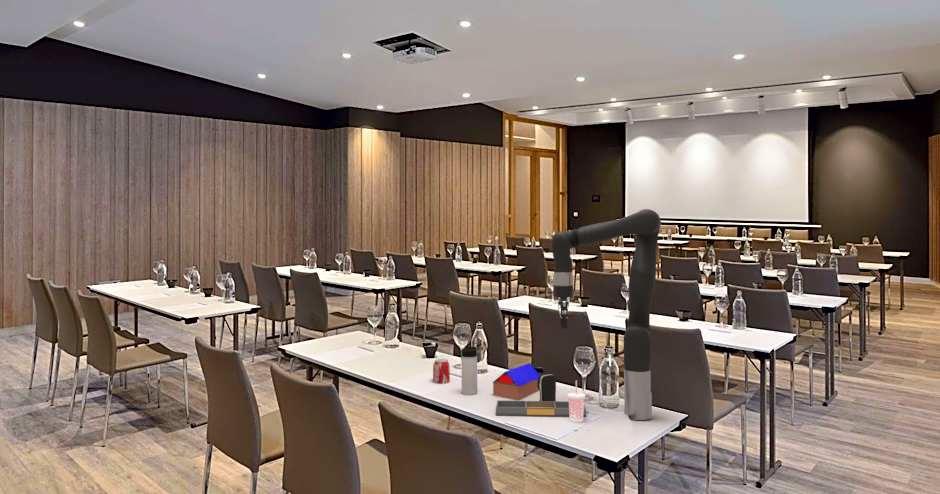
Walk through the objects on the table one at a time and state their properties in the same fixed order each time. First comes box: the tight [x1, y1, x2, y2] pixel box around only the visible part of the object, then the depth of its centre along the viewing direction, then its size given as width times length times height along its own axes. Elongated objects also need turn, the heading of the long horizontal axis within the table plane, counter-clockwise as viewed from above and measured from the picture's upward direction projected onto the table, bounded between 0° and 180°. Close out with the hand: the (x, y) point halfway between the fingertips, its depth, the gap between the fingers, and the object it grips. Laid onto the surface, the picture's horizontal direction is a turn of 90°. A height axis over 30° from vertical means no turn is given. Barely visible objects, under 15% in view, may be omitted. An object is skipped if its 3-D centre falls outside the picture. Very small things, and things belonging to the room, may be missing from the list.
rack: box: [495, 400, 587, 418], centre depth 238 cm, size 32×10×3 cm, turn 85°
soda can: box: [432, 358, 451, 385], centre depth 278 cm, size 7×7×12 cm
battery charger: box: [537, 373, 557, 401], centre depth 251 cm, size 7×4×11 cm, turn 122°
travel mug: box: [461, 346, 478, 396], centre depth 262 cm, size 6×7×20 cm
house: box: [491, 363, 540, 401], centre depth 265 cm, size 12×20×12 cm, turn 147°
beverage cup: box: [567, 379, 586, 423], centre depth 228 cm, size 6×6×14 cm
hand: (563, 327), depth 247 cm, fingers open, 8 cm apart
